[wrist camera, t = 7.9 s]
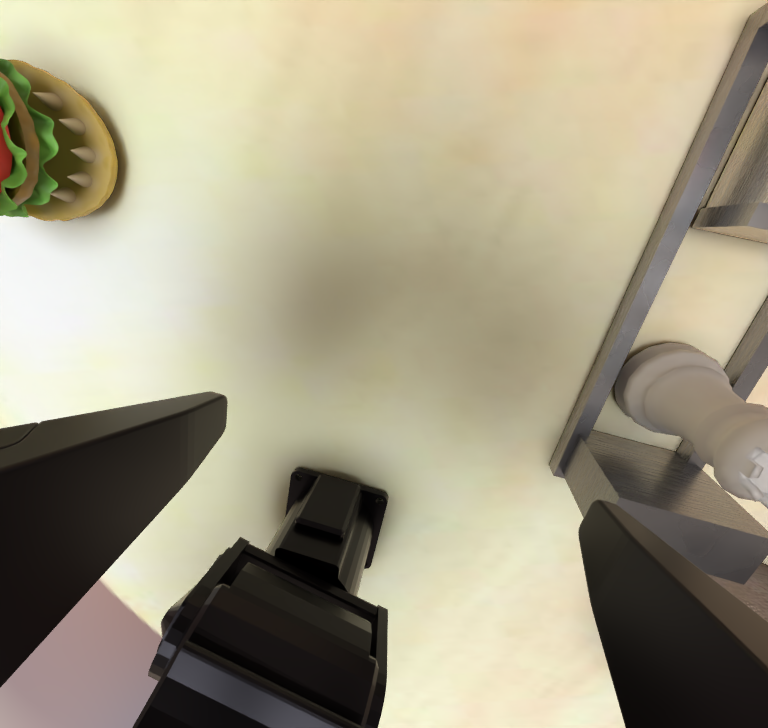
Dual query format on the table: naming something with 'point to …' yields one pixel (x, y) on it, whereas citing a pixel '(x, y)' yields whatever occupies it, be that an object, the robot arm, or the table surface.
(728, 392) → the rook chess piece
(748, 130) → the ram
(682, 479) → the press bed
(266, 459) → the table surface
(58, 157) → the hamburger
